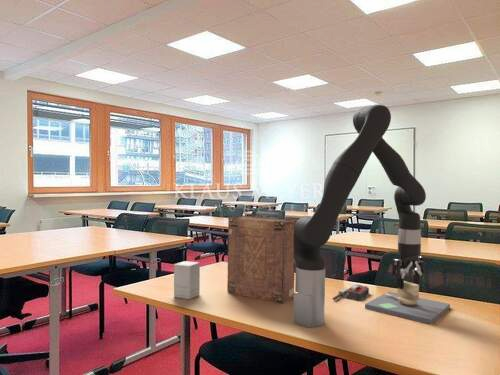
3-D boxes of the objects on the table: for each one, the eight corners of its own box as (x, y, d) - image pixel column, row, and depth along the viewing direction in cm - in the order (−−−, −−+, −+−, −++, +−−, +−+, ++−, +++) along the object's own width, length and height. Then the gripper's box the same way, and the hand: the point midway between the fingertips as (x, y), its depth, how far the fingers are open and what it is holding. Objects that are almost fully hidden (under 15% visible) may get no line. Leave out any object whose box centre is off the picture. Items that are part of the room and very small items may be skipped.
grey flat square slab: (431, 324, 118) (431, 319, 118) (364, 308, 132) (365, 303, 132) (449, 308, 134) (450, 303, 134) (389, 295, 149) (389, 291, 149)
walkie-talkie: (349, 290, 156) (330, 302, 140) (349, 279, 156) (330, 290, 140) (370, 294, 151) (353, 306, 135) (370, 283, 151) (353, 294, 135)
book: (226, 292, 150) (227, 217, 149) (239, 286, 157) (241, 215, 157) (282, 304, 136) (284, 221, 135) (294, 297, 143) (295, 219, 143)
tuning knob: (422, 304, 131) (422, 284, 131) (410, 306, 129) (410, 286, 129) (391, 294, 143) (391, 275, 143) (379, 296, 140) (380, 277, 140)
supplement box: (200, 294, 145) (200, 262, 145) (189, 299, 139) (189, 265, 138) (184, 292, 148) (184, 260, 148) (173, 297, 142) (173, 263, 142)
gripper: (404, 244, 126) (403, 292, 126) (431, 241, 133) (431, 287, 133) (386, 241, 133) (386, 286, 133) (413, 238, 140) (413, 282, 140)
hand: (408, 286), depth 133 cm, fingers open, 8 cm apart
